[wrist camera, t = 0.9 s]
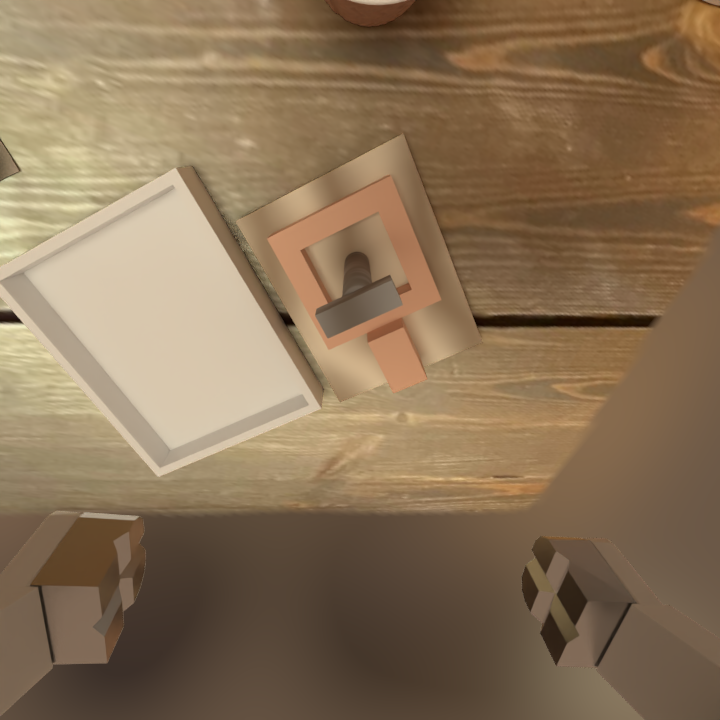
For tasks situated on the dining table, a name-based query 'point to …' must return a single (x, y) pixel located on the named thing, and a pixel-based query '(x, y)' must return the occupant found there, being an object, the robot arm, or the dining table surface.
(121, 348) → the tray
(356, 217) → the square frame with stem
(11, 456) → the dining table surface
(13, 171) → the condiment
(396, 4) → the coffee cup
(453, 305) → the board
